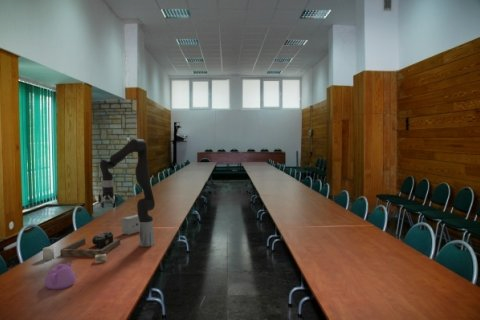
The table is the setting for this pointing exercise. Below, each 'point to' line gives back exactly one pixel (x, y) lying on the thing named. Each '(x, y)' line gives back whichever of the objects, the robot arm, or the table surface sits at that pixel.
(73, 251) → the corral
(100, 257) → the birch block
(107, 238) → the camera
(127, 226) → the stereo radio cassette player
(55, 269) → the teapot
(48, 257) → the white capsule cylinder
